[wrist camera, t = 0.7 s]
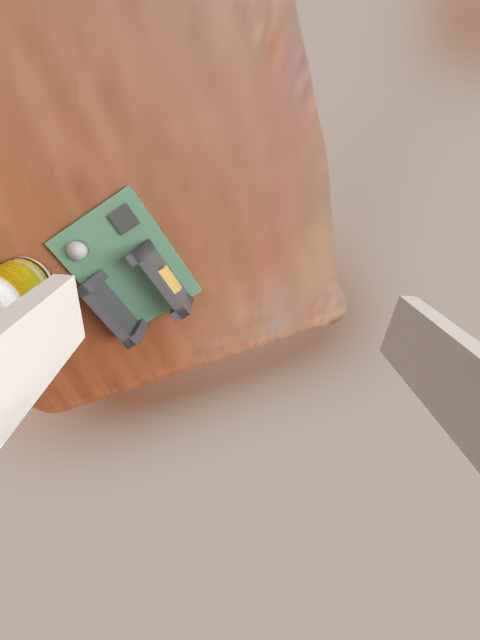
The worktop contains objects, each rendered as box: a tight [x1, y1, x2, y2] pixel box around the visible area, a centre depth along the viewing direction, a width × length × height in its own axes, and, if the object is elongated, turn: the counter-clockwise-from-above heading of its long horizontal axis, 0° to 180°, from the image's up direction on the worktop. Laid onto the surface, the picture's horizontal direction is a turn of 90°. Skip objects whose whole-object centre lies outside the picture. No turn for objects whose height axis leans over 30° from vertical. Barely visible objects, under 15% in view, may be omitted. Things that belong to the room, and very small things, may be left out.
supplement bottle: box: [0, 257, 51, 311], centre depth 33 cm, size 5×5×10 cm
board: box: [44, 185, 202, 322], centre depth 36 cm, size 14×12×2 cm
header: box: [77, 239, 193, 349], centre depth 36 cm, size 9×10×4 cm
